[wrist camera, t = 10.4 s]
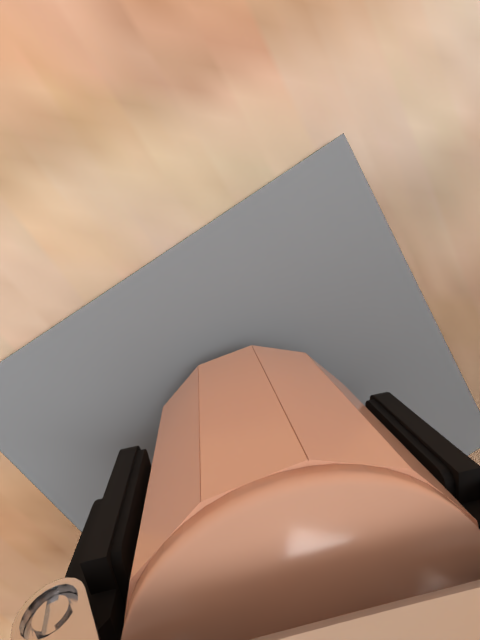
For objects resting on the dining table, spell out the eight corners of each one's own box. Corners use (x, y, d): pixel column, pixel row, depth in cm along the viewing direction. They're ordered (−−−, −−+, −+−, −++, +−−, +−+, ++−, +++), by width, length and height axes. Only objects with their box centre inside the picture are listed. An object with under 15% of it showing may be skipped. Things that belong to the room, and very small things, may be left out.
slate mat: (334, 139, 12) (343, 133, 12) (479, 429, 16) (493, 439, 15) (-39, 388, 13) (-54, 397, 12) (184, 615, 17) (183, 633, 16)
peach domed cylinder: (374, 362, 12) (567, 500, 6) (328, 529, 14) (442, 785, 7) (173, 334, 11) (143, 466, 5) (146, 518, 12) (96, 807, 6)
